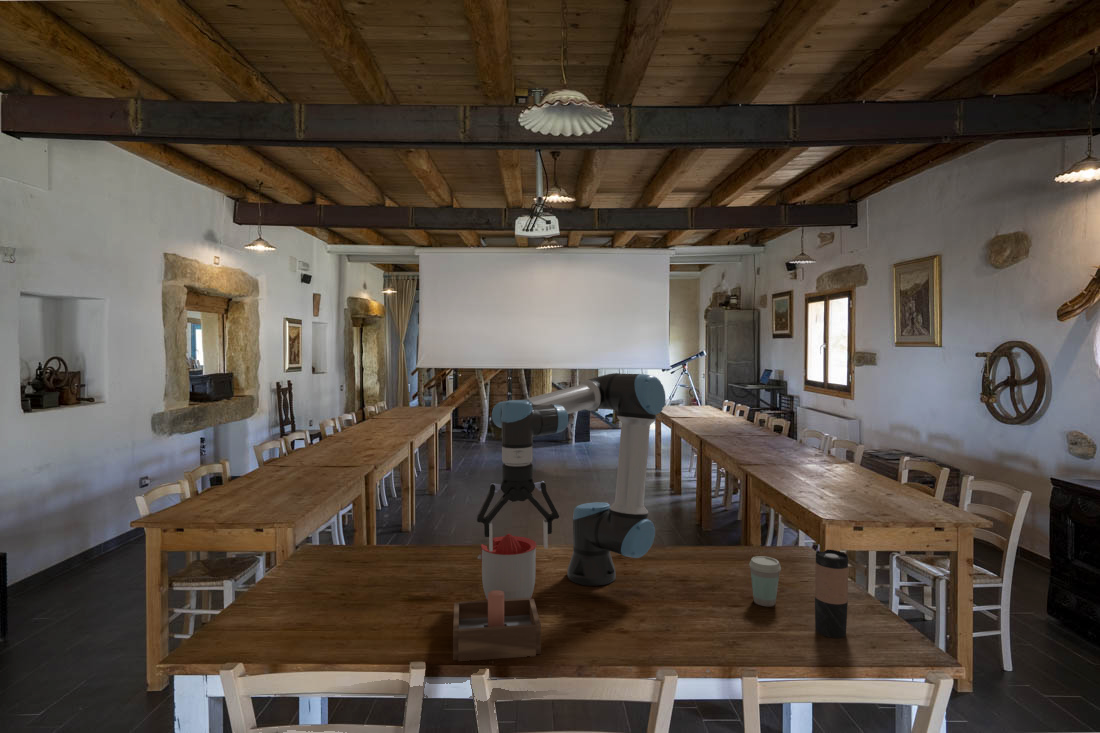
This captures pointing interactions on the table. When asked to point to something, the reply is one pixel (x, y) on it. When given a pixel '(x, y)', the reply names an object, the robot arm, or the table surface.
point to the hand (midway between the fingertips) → (518, 548)
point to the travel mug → (831, 593)
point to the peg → (495, 608)
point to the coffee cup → (764, 579)
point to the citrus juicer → (509, 566)
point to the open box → (496, 631)
